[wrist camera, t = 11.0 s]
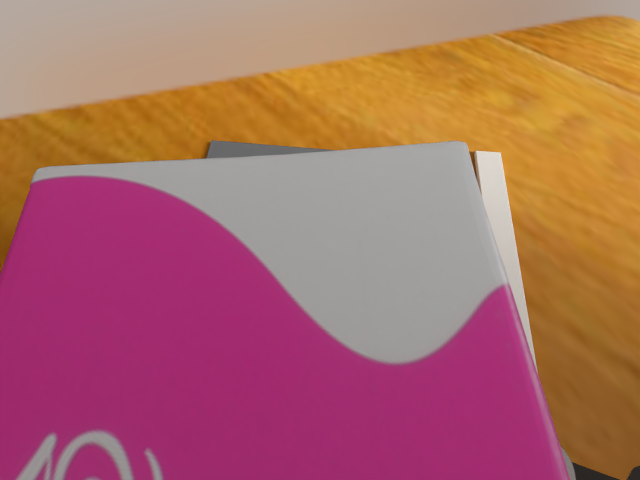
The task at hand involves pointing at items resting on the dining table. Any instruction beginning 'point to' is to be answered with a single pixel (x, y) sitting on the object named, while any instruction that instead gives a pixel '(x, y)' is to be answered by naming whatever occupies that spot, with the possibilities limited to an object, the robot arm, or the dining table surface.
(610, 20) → the dining table surface
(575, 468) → the robot arm
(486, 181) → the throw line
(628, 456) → the dining table surface
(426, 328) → the supplement box
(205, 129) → the dining table surface
